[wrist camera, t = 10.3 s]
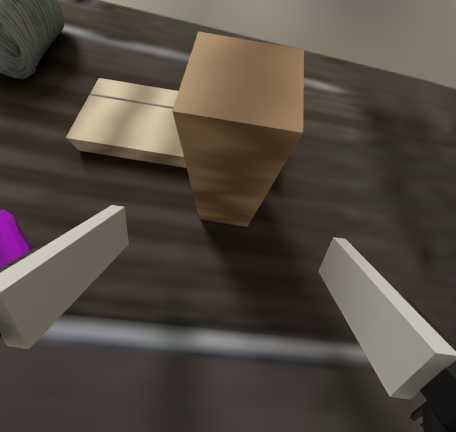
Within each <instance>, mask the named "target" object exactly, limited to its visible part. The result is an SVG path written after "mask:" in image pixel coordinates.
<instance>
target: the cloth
mask: <svg viewBox="0 0 456 432" xmlns="http://www.w3.org/2000/svg"><path fill="white" fill-rule="evenodd" d="M29 250H31V247H30V245H29V244H28V242H27V240H26V239H25V238H24V236H23V235H22V233H21V231H20V229H19V227H18V225H17V223H16V221H15V218H14V216H13V215H11V214H10V213H8V212H7V211H5V210H0V267H2V266H4V265H5V266H6V265H7V263H9V262H11V261H12V260H14V259H18V257H19V256H21V255H23V254H24V253H26V252H28V251H29Z"/></svg>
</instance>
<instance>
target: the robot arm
mask: <svg viewBox="0 0 456 432" xmlns="http://www.w3.org/2000/svg"><path fill="white" fill-rule="evenodd" d="M128 244H129V243H128V234H127V225H126V216H125V207H121V206H114V205H112V206H110V207H108V208H107V209H105V210H103V211H102V212H100V213H98V214H97V215H95V216H93V217H92V218H90V219H88V220H87V221H85V222H83V223H82V224H80V225H79V226H77V227H75V228H74V229H72V230H70V231H69V232H67V233H65V234H64V235H62V236H60V237H59V238H57V239H55V240H54V241H52V242H50V243H49V244H48V243H47V244H44V245H42V246H39V247H36V248H34V249H31V250H29V251H28V252H26V253H24V254H23V255H21V256H19V257H18V259H14V260H12V261H11V262H9V263H7V265H6V266H5V265H4V266H2V267H0V336H1V337H2V338H3V340H4V342H5V343H6V345H7V346H10V347H18V348H26V349H30V347H31V346H32V345H33V344H34V343H35V342H36V341H37V340H38V339H39V338H40V337H41V336H42V335H43V334H44V333H45V332H46V331H47V330H48V329H49V327H50V326H51V325H52V324H53V323H54V322H55V321H56V320H57V319H58V318H59V317H60V316H61V315H62V314H63V313H64V312H65V311H66V310H67V309H68V307H69V306H70V305H71V304H72V303H73V302H74V301H75V300H76V299H77V298H78V297H79V296H80V295H81V294H82V293H83V292H84V291H85V290H86V289H87V287H88V286H89V285H90V284H91V283H92V282H93V281H94V280H95V279H96V278H97V277H98V276H99V275H100V274H101V273H102V272H103V271H104V270H105V268H106V267H107V266H108V265H109V264H110V263H111V262H112V261H113V260H114V259H115V258H116V257H117V256H118V255H119V254H120V253H121V252H122V251H123V250H124V248H125V247H126V246H127V245H128ZM319 273H320V275H321V277H322V278H323V280H324V282H325V284H326V286H327V287H328V289H329V291H330V293H331V294H332V296H333V298H334V300H335V301H336V303H337V305H338V307H339V308H340V310H341V312H342V314H343V315H344V317H345V319H346V321H347V322H348V324H349V326H350V328H351V330H352V331H353V333H354V335H355V337H356V338H357V340H358V342H359V344H360V345H361V347H362V349H363V351H364V352H365V354H366V356H367V358H368V359H369V361H370V363H371V365H372V366H373V368H374V370H375V372H376V373H377V375H378V377H379V379H380V381H381V382H382V384H383V386H384V388H385V389H386V391H387V393H388V395H389V396H390V397H396V398H404V399H411V398H412V397H413V396H414V395H416V394H417V393H418V392H419V391H421V393H422V394H423V396H424V397H425V398H426V400H427V401H426V402H425V403H424V404H422V405H421V406H420V407H419V408H417V409H416V410H415V411H414V412H412V414H411V417H410V418H411V419H412V420H413V421H415V420H416V419H418V418H419V417H420V416H423V423H422V424H420V426H421V427H422V428H424V432H456V346H455V345H454V344H453V343H452V342H451V341H450V340H449V339H448V338H447V337H446V336H445V335H444V334H443V333H442V332H441V331H440V330H439V329H438V328H437V327H436V326H435V325H434V324H432V323H431V321H430V320H429V319H428V318H427V317H426V316H425V315H423V314H422V312H421V311H420V310H419V309H418V308H417V307H416V306H415V305H414V304H413V303H412V302H411V301H410V300H408V299H407V298H405V297H404V296H403V295H401V294H400V293H398V292H397V291H396V290H395V289H394V288H393V287H392V286H391V285H390V284H389V283H388V282H387V281H386V280H385V279H384V278H383V277H382V276H381V275H380V274H379V273H378V272H377V271H376V270H375V269H374V268H373V267H372V266H371V265H370V264H369V263H368V262H367V261H366V260H365V259H364V258H363V257H362V255H361V254H360V253H359V252H358V251H357V250H356V249H355V248H354V247H353V246H352V245H351V244H350V243H349V242H348V241H347V240H346V239H341V238H334V237H333V240H332V242H331V244H330V246H329V248H328V251H327V253H326V255H325V257H324V260H323V262H322V264H321V266H320V268H319Z"/></svg>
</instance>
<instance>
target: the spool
mask: <svg viewBox="0 0 456 432" xmlns="http://www.w3.org/2000/svg"><path fill="white" fill-rule="evenodd" d="M64 22H65V21H64V16H63V13H62V9H61V7H60V5H59V3H58V1H57V0H0V73H1V74H4V75H7V76H10V77H13V78H16V79H25V78H27V77H29V76H31V75H32V74H34V73H35V71H36V66H37V65H38V63H39V61H40V59H41V58H42V57H43V55H44V53H45V52H46V50H47V49H48V48H49V47H50V45H51V44H52V42H53V41H54V40H55V39H56V37H57V36H58V35H59V34H60V32H61V31H62V29H63V28H64Z"/></svg>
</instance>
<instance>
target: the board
mask: <svg viewBox="0 0 456 432" xmlns="http://www.w3.org/2000/svg"><path fill="white" fill-rule="evenodd" d="M178 92H179V91H173V90H167V89H161V88H155V87H149V86H143V85H138V84H132V83H126V82H120V81H114V80H108V79H102V78H99V79H98V81H97V82H96V84H95V86H94V88H93V90H92V92H91V93H90V94H89V97H88V99H87V101H86V102H85V104H84V106H83V108H82V110H81V111H80V113H79V115H78V117H77V119H76V120H75V122H74V124H73V126H72V128H71V129H70V131H69V133H68V135H67V137H66V138H67V139H68V140H69V141H70V142H71V143H72V144H73V145H74V146H75V147H76V148H77V149H78V150H79V151H85V152H91V153H97V154H103V155H109V156H116V157H122V158H128V159H134V160H140V161H147V162H153V163H159V164H165V165H171V166H177V167H184V168H187V167H186V163H185V159H184V155H183V151H182V147H181V143H180V139H179V136H178V132H177V128H176V124H175V120H174V116H173V112H172V110H173V107H174V104H175V101H176V98H177V95H178Z"/></svg>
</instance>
